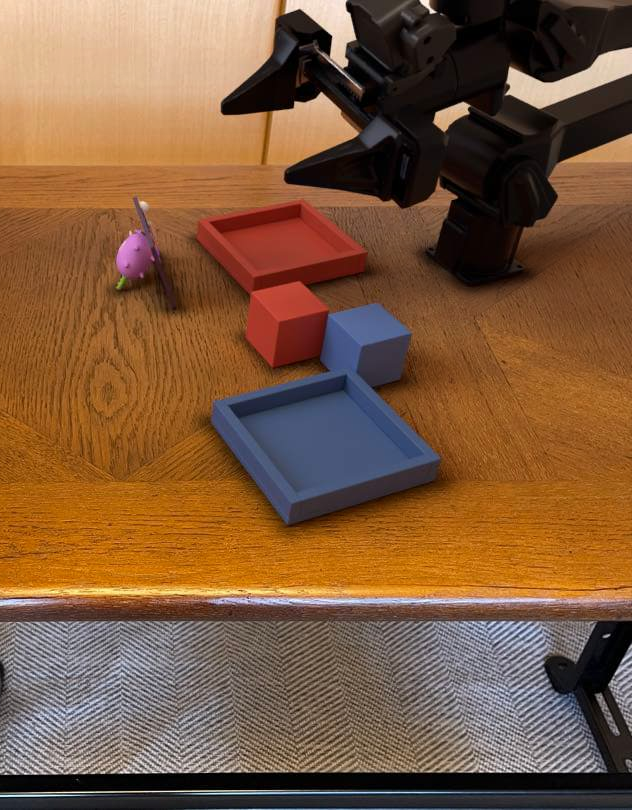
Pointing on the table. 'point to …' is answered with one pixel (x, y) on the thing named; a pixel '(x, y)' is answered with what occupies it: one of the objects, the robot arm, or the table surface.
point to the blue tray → (323, 444)
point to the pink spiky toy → (140, 253)
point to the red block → (286, 323)
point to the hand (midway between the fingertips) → (252, 141)
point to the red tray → (280, 246)
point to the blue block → (366, 343)
